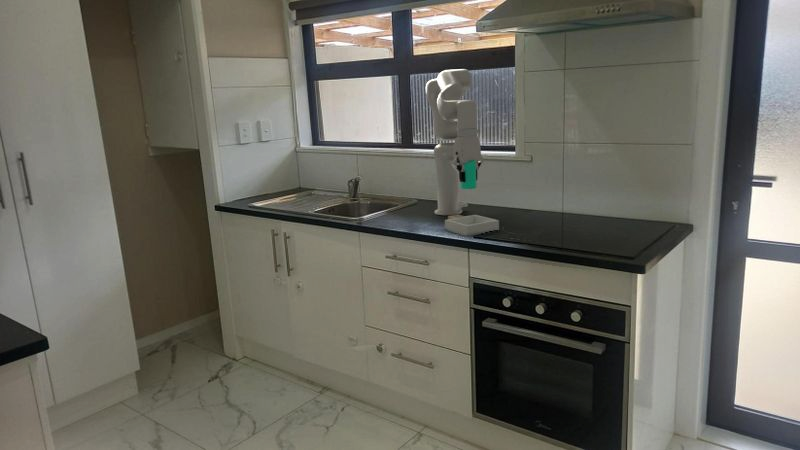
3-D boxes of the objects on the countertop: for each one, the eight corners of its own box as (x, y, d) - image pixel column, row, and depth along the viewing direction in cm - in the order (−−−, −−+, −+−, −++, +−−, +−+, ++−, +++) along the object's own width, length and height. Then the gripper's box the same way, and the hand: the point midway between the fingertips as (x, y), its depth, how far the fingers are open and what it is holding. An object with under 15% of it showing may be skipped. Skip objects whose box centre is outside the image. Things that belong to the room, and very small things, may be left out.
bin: (475, 224, 240) (475, 214, 239) (498, 230, 227) (498, 220, 226) (445, 229, 232) (444, 219, 232) (467, 236, 220) (467, 226, 219)
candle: (479, 187, 226) (479, 156, 224) (469, 189, 222) (469, 157, 220) (467, 186, 231) (466, 155, 228) (457, 188, 227) (456, 157, 224)
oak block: (458, 224, 243) (457, 214, 242) (465, 226, 238) (464, 216, 237) (448, 225, 240) (447, 216, 239) (454, 227, 236) (454, 218, 235)
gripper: (479, 131, 229) (480, 177, 233) (443, 134, 222) (444, 182, 225) (491, 132, 223) (492, 179, 227) (454, 135, 215) (455, 184, 219)
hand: (468, 180), depth 226 cm, fingers closed on candle, 4 cm apart
